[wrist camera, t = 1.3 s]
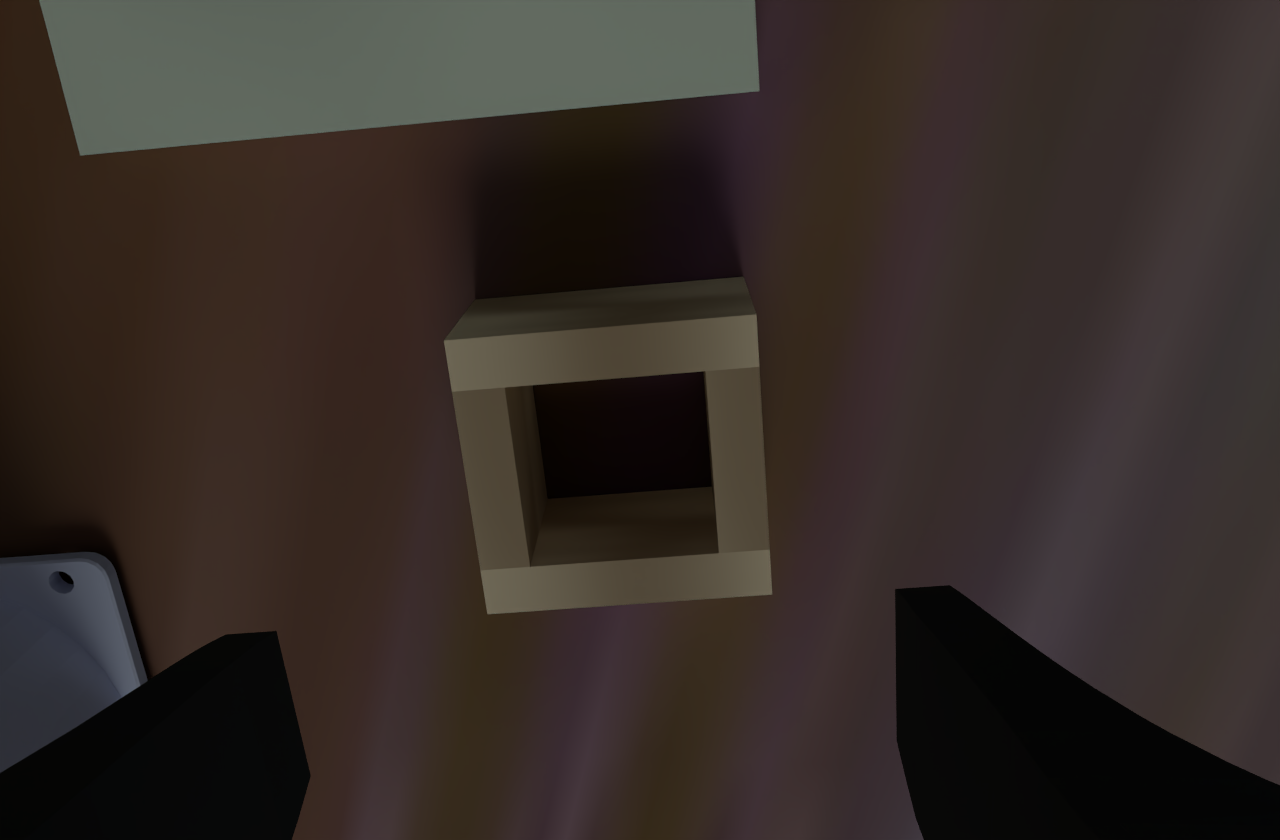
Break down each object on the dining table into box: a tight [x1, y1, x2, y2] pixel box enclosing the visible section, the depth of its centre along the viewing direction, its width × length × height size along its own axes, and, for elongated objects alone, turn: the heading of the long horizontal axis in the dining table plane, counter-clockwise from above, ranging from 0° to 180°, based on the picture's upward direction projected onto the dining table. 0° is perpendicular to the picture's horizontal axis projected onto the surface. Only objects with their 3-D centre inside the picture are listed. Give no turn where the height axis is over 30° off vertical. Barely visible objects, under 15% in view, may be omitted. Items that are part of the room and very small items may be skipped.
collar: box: [444, 277, 772, 614], centre depth 20 cm, size 5×5×3 cm
